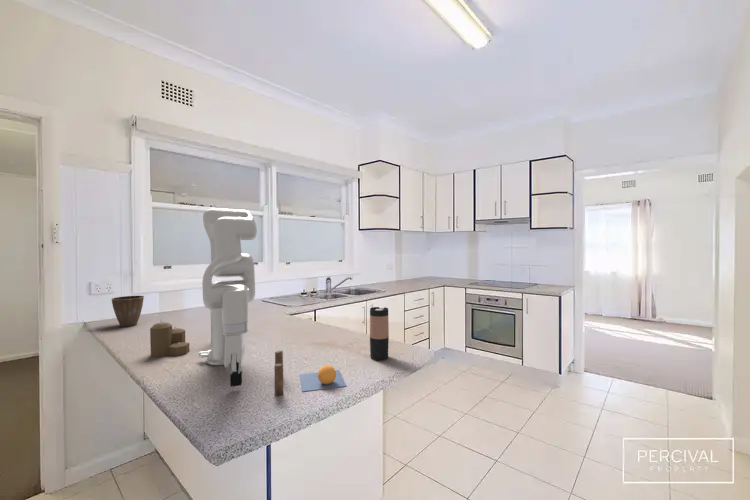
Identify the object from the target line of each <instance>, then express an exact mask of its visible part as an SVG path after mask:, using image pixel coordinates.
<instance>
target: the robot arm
mask: <svg viewBox="0 0 750 500" xmlns="http://www.w3.org/2000/svg"><path fill="white" fill-rule="evenodd" d="M202 221H203V226H204V229H205V233H206V235H207V237H208V239H209V242H210V243H209V244H210V263H209V265H208V266H207V267H206V269H205V271H204V273H203V276H202V282H201V283H202V300H203V301H202V302H203V304H204V306H205V308H206V309H208V310H210V311H209V314H210V349H208V350H207V351H205V350H204V351H203V350H202V351H198V358H199V357H200V358H207V359H206V364H208V365H211V366H224V368H226V369H227V368H229V366H230V377H229V378H230V379H229V380H230V381H229V382H230V383H229V384H230V387H238V386H239V387H240V386H242V384H243V383H242V382H243V370H242V364H243V362H244V357H245V345H246V344H245V337H246V335H245V334H246V333H248V332H249V303H252V302H254V300H255V297H256V278H255V275H256V274H255V273H256V272H255V263H254V258H253V256H252V255H251V254H249V253H243V252H242V243H241V241H253V240H255V239H256V237H257V234H258V233H257V232H258V229H257V227H258V226H257V223H256V221H255V217H253V215H252V213H251V212H250V210H246V209H236V208H234V209H233V208H230V209H229V208H210V209H207V210H205V211H204V212H203V214H202ZM214 277H216V278H237V277H238V278H239V277H240V278H242V279H238V280H237V279H235V280H233V279H232V280H231V279H230V280H218V281H215V282H212V281H213V280H212V279H213V278H214Z"/></svg>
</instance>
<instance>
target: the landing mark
mask: <svg viewBox="0 0 750 500" xmlns="http://www.w3.org/2000/svg"><path fill="white" fill-rule="evenodd" d="M335 371H336V378H335V380H334V381H333V382H332V383H331V384H328V385H325V384H322V383H321V382H320V381H319V379H318V372H310V373H309V372H308V373H302V374H301V373H300V374H299V378H300V379H299V380H300V385H301V386H300V387H301V391H302V393H304V392H314V391H320V390H321V391H322V390H328V389H329V390H330V389H336V388H344V387H347V383H346V382H345V380H344V377H343V376H342V374H341V371H340V370H339V369H337V370H336V369H335Z"/></svg>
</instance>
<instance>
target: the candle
mask: <svg viewBox="0 0 750 500" xmlns="http://www.w3.org/2000/svg"><path fill="white" fill-rule="evenodd" d="M159 320H160V321H159V322H157V323H155V324H153V325H152V326H151V327H150V329H149V331H150V332H149V333H150V337H149V338H150V339H149V340H150V341H149V342H150V343H149V344H150V357H154V358H160V357H165V356H174V357H177V356H182V355H187V354H188V353H189V352H190V342H186V329H184V328H179V327H177V326H174V328H173V325H172V324H170V322H164V321H163V319H162V318H160V319H159Z"/></svg>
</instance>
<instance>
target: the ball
mask: <svg viewBox="0 0 750 500" xmlns="http://www.w3.org/2000/svg"><path fill="white" fill-rule="evenodd" d="M317 373H318V379H319V381H320V382H321V383H322V384H325V385H328V384H331V383H332V382H333V381H334V380H335V378H336V369H335V368H334V367H333V366H331V365H329V364H326V365H323V366H322V367H320V368H319V370H318V371H317Z"/></svg>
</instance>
